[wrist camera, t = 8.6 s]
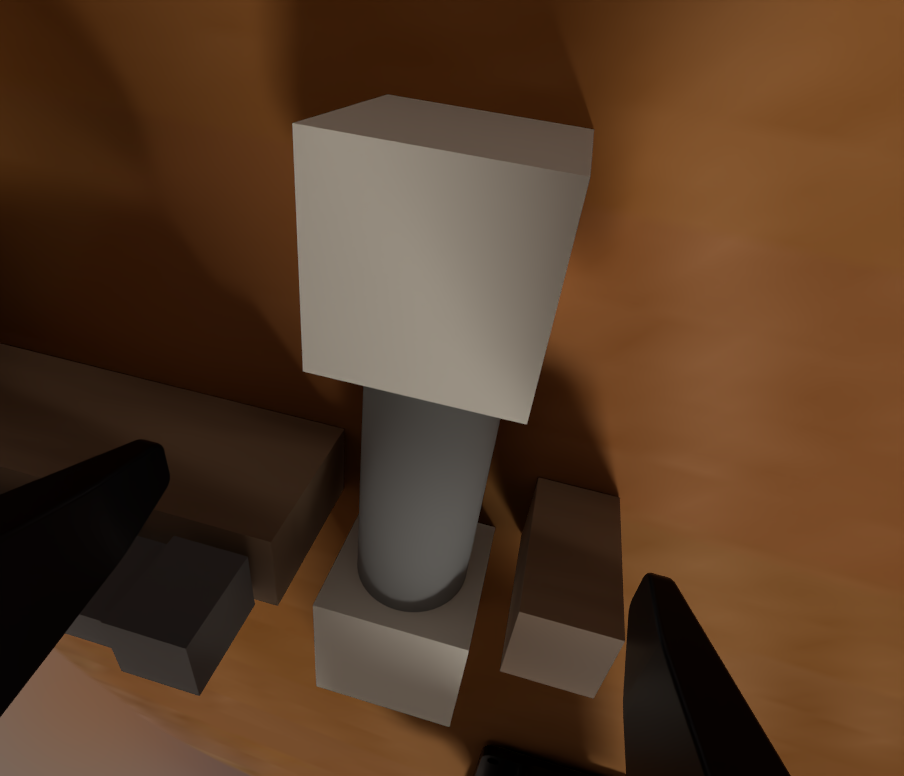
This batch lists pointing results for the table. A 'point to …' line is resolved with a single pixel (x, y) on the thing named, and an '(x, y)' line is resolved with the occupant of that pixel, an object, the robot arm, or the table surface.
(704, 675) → the robot arm
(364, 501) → the square-ended dumbbell
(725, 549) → the table surface
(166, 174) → the table surface
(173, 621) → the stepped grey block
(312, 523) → the dark brown block
